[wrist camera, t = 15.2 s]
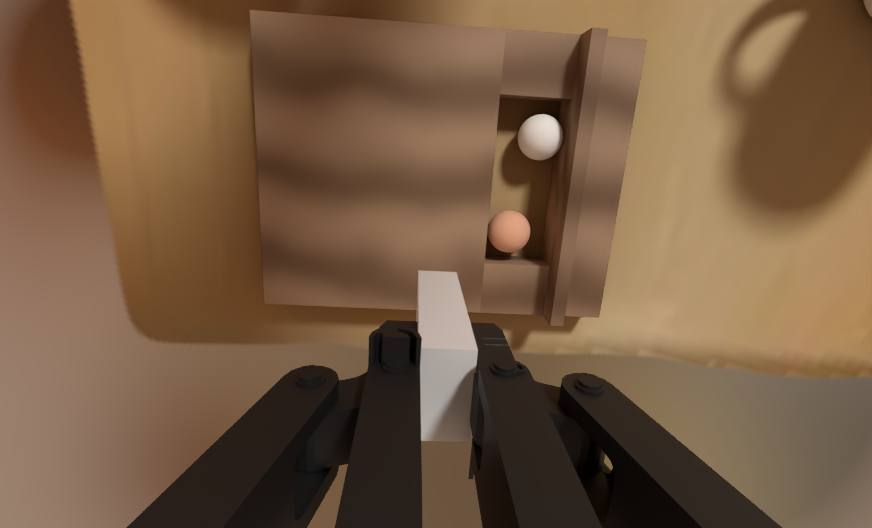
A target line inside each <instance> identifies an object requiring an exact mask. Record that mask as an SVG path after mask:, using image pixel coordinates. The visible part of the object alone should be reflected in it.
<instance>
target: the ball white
mask: <svg viewBox="0 0 872 528" xmlns="http://www.w3.org/2000/svg"><path fill="white" fill-rule="evenodd" d="M562 142H563V130H562V127H561V125H560V123H559V122H558V121H557V120H556V119H555V118H554V117H552V116H550V115H546V114H538V115H534V116H532V117H530V118H528V119H527V120H526V121H525V122H524V123H523V124H522V126H521V127H520V130H519V133H518V145H519V147H520V149H521V151H522V152H523V154H524V155H526V156H527V157H529V158H531V159H533V160H545V159H548V158H550V157H552V156H553V155H555V154H556V153H557V151H558V150H559V149H560V147H561V145H562Z"/></svg>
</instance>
